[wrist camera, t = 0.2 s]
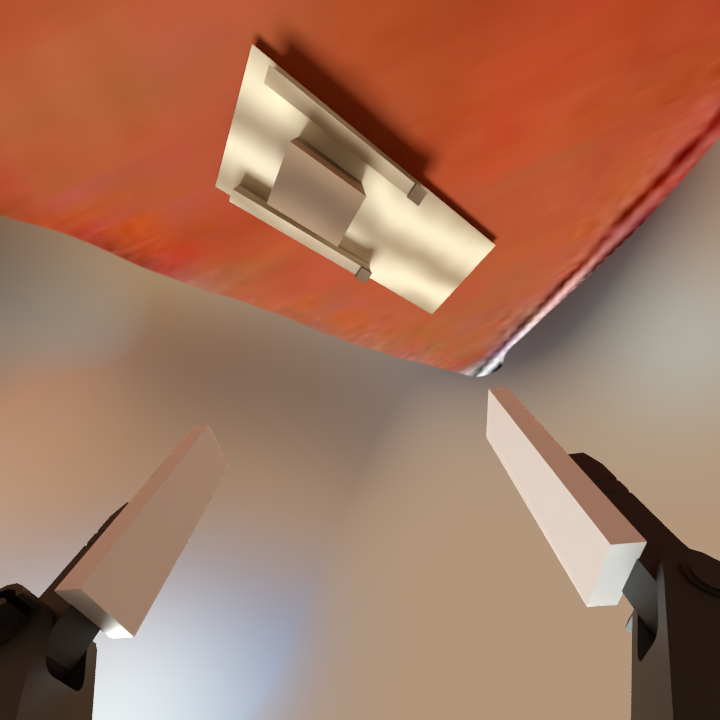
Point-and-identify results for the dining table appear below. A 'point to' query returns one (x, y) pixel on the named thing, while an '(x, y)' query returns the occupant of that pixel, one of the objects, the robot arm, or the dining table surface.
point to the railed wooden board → (367, 164)
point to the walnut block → (316, 192)
